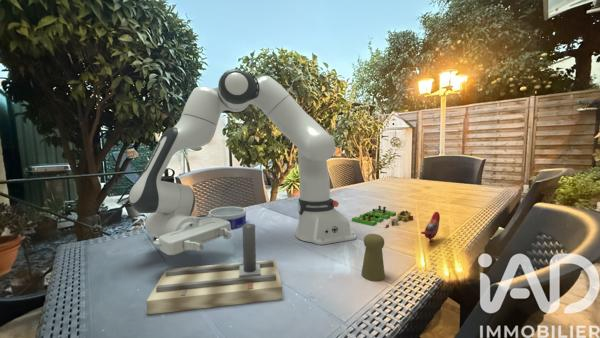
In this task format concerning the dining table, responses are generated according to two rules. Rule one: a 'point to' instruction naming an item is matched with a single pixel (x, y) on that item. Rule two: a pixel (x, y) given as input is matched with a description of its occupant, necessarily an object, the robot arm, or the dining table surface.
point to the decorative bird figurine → (432, 227)
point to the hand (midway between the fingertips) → (216, 241)
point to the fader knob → (249, 253)
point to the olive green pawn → (373, 258)
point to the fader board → (213, 287)
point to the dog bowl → (230, 215)
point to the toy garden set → (382, 217)
